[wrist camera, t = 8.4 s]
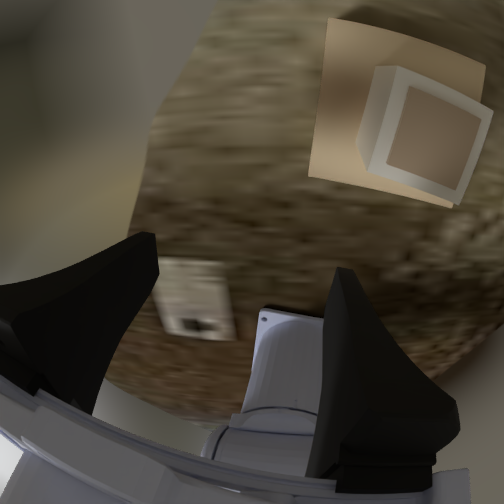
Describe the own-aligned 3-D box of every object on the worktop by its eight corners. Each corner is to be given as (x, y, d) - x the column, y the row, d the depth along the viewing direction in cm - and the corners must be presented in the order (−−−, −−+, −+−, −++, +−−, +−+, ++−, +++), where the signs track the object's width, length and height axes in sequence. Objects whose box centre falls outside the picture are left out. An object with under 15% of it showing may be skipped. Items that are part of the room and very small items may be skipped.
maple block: (436, 189, 18) (451, 208, 16) (310, 160, 19) (307, 176, 17) (465, 64, 13) (486, 65, 11) (327, 25, 14) (328, 17, 12)
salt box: (427, 167, 15) (461, 207, 11) (355, 142, 15) (367, 174, 11) (450, 96, 13) (496, 112, 8) (375, 65, 13) (399, 65, 9)
